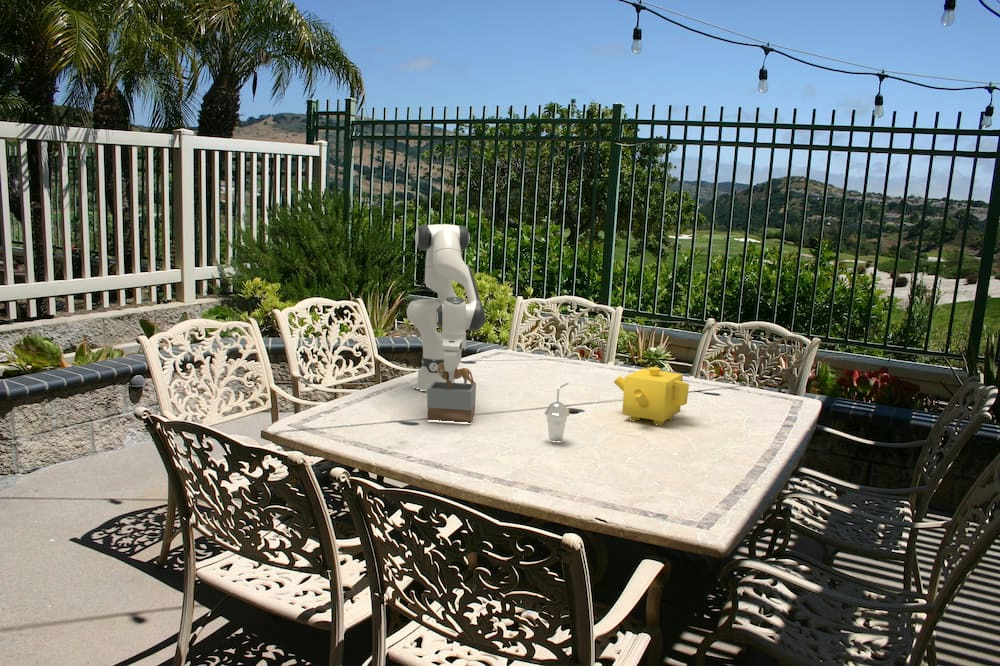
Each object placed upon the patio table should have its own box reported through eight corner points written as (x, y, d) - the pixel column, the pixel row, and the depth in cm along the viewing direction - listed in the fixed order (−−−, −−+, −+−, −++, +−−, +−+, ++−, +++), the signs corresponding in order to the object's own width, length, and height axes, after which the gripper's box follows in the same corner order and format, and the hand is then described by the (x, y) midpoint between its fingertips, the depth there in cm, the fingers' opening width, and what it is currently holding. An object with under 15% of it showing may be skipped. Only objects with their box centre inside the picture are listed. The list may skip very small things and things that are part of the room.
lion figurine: (439, 388, 294) (438, 363, 293) (435, 386, 299) (435, 362, 298) (478, 386, 298) (477, 361, 298) (474, 384, 303) (473, 360, 303)
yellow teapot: (629, 403, 335) (632, 355, 331) (698, 415, 320) (702, 365, 317) (594, 421, 305) (597, 369, 302) (668, 435, 290) (673, 380, 287)
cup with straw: (539, 438, 281) (542, 382, 278) (562, 436, 284) (565, 381, 281) (549, 445, 273) (552, 388, 270) (573, 443, 276) (576, 386, 273)
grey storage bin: (433, 399, 306) (433, 381, 305) (475, 402, 304) (475, 384, 303) (427, 407, 294) (427, 388, 293) (470, 410, 293) (471, 391, 292)
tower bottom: (432, 414, 307) (433, 399, 306) (474, 417, 306) (475, 401, 305) (427, 423, 296) (427, 407, 295) (470, 425, 294) (471, 409, 293)
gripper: (449, 336, 307) (448, 372, 309) (441, 346, 286) (440, 384, 289) (465, 337, 306) (464, 373, 308) (458, 347, 286) (457, 385, 288)
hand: (452, 378), depth 298 cm, fingers closed on lion figurine, 4 cm apart
